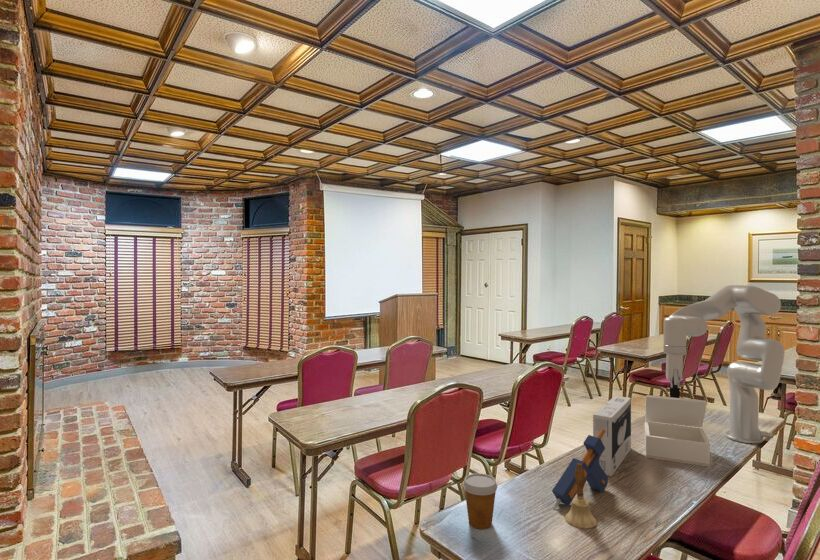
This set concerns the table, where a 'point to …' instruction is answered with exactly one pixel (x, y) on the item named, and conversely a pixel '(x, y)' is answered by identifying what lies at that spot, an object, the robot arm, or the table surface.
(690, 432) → the box
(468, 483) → the disposable coffee cup
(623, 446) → the packaging
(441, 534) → the table surface
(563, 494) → the glue gun
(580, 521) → the hand bell
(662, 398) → the lid
